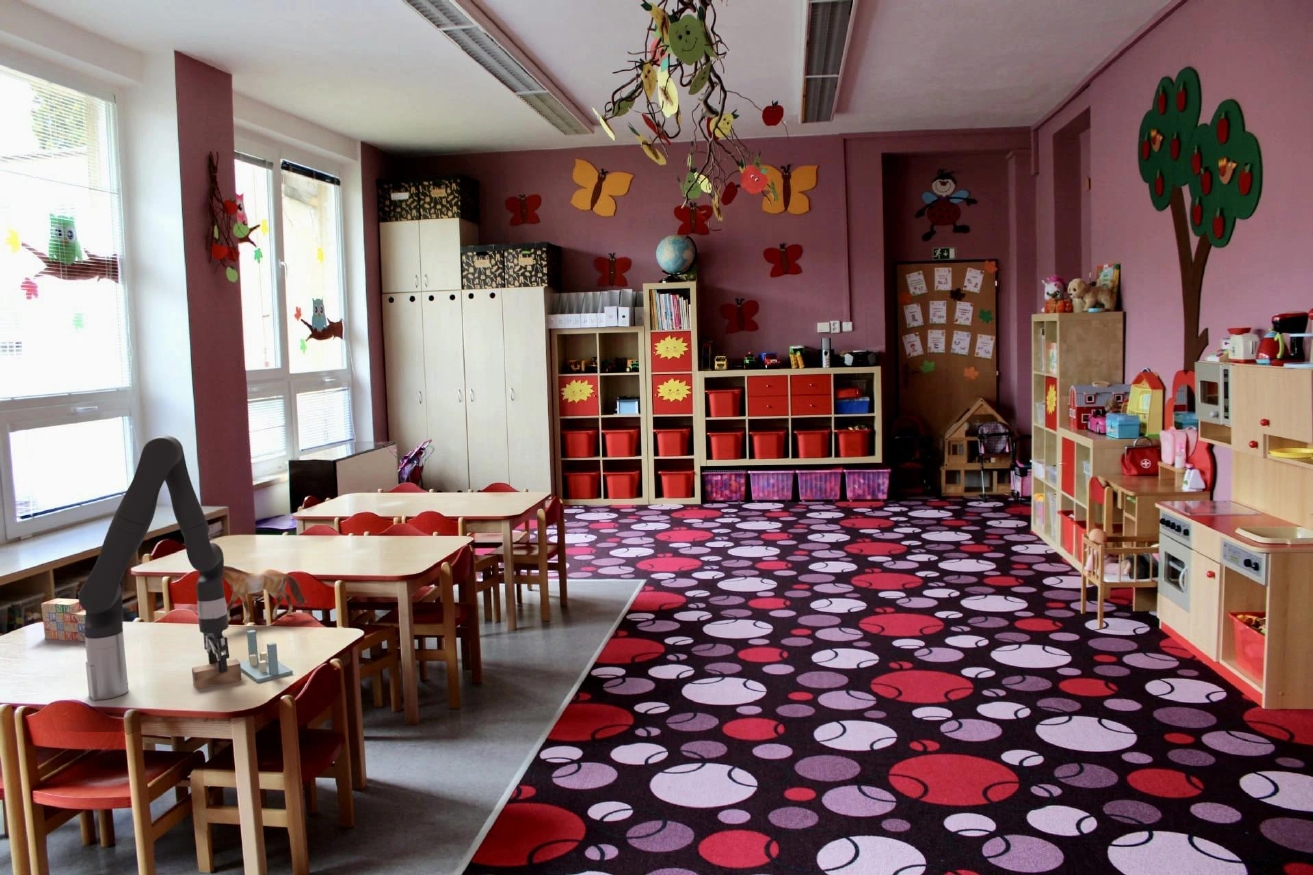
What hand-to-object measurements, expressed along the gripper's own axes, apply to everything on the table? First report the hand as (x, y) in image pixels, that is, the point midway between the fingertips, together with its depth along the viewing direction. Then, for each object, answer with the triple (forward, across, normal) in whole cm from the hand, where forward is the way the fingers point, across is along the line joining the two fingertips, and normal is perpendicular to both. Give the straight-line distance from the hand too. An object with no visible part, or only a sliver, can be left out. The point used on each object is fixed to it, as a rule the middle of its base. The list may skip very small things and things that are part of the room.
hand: (218, 668), depth 278 cm
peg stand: (+4, 0, +12) cm, 13 cm away
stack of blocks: (+3, -81, -21) cm, 84 cm away
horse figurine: (+4, -52, +30) cm, 60 cm away
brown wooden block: (+4, 0, -1) cm, 4 cm away
